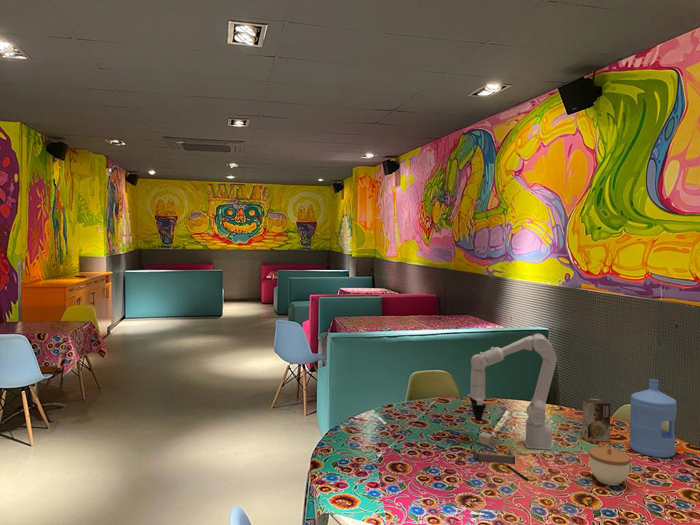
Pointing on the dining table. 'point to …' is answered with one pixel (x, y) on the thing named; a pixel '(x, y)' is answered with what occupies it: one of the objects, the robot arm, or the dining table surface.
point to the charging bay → (495, 457)
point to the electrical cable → (517, 473)
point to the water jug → (652, 422)
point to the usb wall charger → (487, 439)
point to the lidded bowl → (609, 465)
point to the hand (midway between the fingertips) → (477, 417)
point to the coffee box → (596, 420)
